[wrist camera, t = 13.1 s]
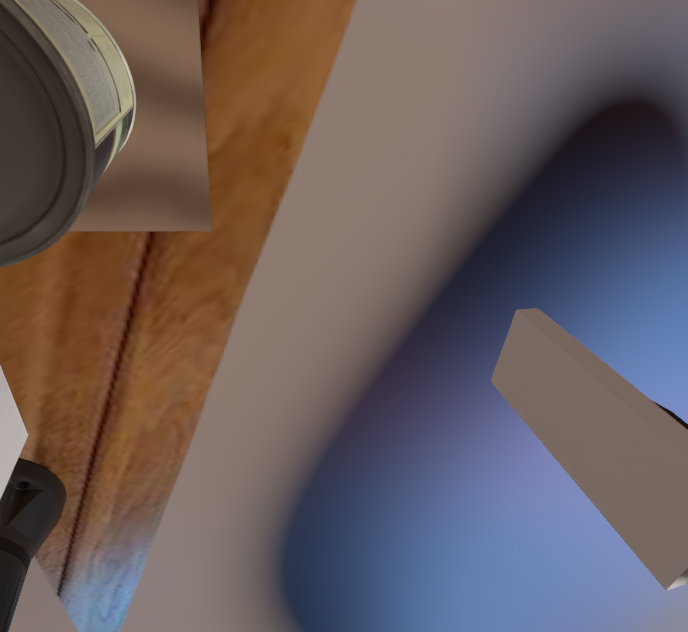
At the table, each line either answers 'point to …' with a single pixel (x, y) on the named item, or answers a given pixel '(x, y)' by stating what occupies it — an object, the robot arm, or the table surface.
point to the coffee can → (55, 118)
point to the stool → (156, 123)
